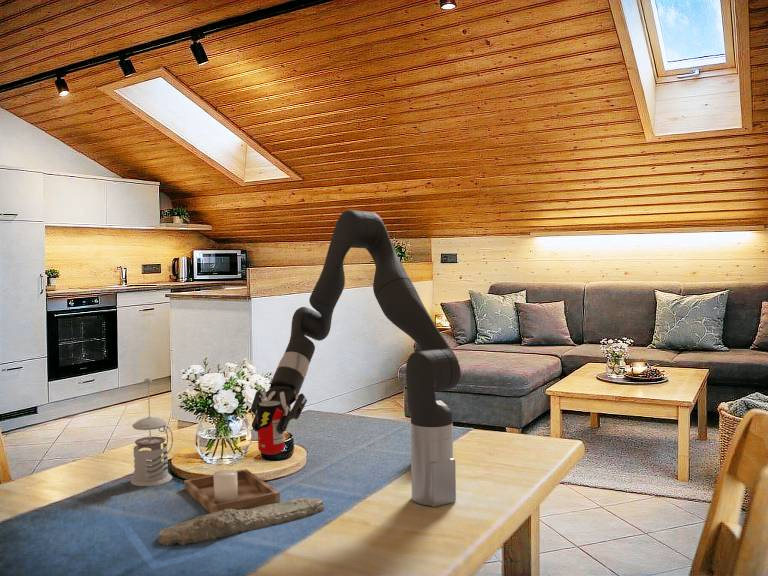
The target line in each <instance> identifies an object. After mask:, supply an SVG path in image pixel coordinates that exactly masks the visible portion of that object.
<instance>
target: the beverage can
mask: <svg viewBox="0 0 768 576" xmlns="http://www.w3.org/2000/svg"><path fill="white" fill-rule="evenodd" d="M282 416H284V415H283V408H282V407H281V405H280V402H279V401H265V402H261V403H259V408H258V410H257V427H258V432H257V450H259V452H261V453H262V454H263V455H267V456H268V455H270V456H271V455H277V454H280V453H282V451H283V450H284V449H285V445H286V444H285V431H284V432H283V434H279V432H278V431H277V426H278V424H279V421H280V419H281V417H282Z"/></svg>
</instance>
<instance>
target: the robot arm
mask: <svg viewBox="0 0 768 576" xmlns="http://www.w3.org/2000/svg"><path fill="white" fill-rule="evenodd" d="M388 232H389V231H388V230H387V227H386V225H385V223H384V220H383V219H382V218H381V216H380V215H379V214H378V213H375V212H372V211H365V210H355V209H348V210H345V211H343V212H342V213H341V214H340V215H339V217H338V219H337V221H336V223H335V226H334V229H333V233H332V235H331V238H330V243H329V245H328V248H327V254H326V257H325V259H324V264H323V267H322V270H321V273H320V275H319V277H318V278H317V279H318V280H317V282H316V284H315V285H314V288H313V290H312V292H311V294H310V295H309V301H308V302H309V305H310V306H311V307H312V308H313V309H314V310H313V309H311V308H309V307H307V306H301V307H298V308H297V309H296V310H295V311H294V313H293V315H292V317H291V326H290V337H289V341H288V345H287V346H286V348H285V351H284V353H283V356H282V357H281V359H280V361H279V363H278V365H277V367H276V370H275V372H274V374H273V377H272V379H271V382H270V386H269V389H268V390H267V391H266V392H261V391H260V390H257V391H256V392H255V394H254V398H253V400H252V404H251V407H250V412H251V413H252V415H254V419H253V421H252V423H251V427H252V429H253V431H254V432H257V433H258V427H257V410H258V408H259V403H261V402H265V401H279V402H280V405H281V407H282V408H283V416H282V417H281V419H280V421H279V424H278V426H277V431H278V432H279V434H283V432H284V433H285V432H286V431H287V427H288V425H289V422H290V421H291V420H293V419H294V420H298V419H299V418H300V416H301V414H302V412H303V411H304V408H305V406H306V404H307V403H308V399H307V398H306V396H305V394H304V393H300V391H301V388H302V386H303V383H304V381H305V379H306V376H307V373H308V370H309V367H310V364H311V361H312V358H313V356H314V353H315V350H316V346H315V344H314V342H313V341H312V340H314V341H318V342H320V341H323V340H325V339H326V338H327V337H328V335H329V333H330V331H331V327H332V319H333V313H334V310H335V307H336V306H337V304H338V301H339V299H340V298H341V296H342V293H343V291H344V288H345V285H346V283H345V282H346V277H345V270H344V261H345V258H346V255H347V254H348V252H349V251H350V249H352V248H353V249H354V248H355V249H364V250H366V251H367V252H368V253H369V255H370V256H371V259H372V260H373V261H372V262H374V266H375V270H374V271H375V272H374V275H373V276H374V278H373V282H372V290H373V294H374V297H375V299H376V301H377V303H378V305H379V307H380V309H381V311H382V312H383V314H384V316H385V317H386V318H387V319H388V321H390V322H391V323H392V324H393V325H395V327H397V328H398V330H399V329H400V330H401V331H402V332H404V333H405V334H406V335H408V337H410V339H412V340H413V341H414V342H415V343H416V345H417V346H418V347H419V349H420V350H418V351H414V352H412V353H411V354H409V356H408V358H407V361H406V363H405V364H406V365H405V382H406V383H405V384H406V397H407V398H406V401H407V409H408V412H409V415H410V453H411V454H410V460H411V461H410V462H411V463H410V464H411V466H410V467H411V469H410V472H411V499H412V501H413V502H414V503H416V504H419V505H424V506H430V507H433V508H434V507H439V506H443V505H448V504H451V503H456V502H457V498H456V497H457V487H456V486H457V484H456V481H457V480H456V478H457V476H456V471H457V470H456V469H457V468H456V459H455V458H454V446H453V445H454V437H453V435H454V431H453V430H454V425H453V422H454V421H453V411H452V409H451V408H450V407H448V406H447V407H445V406H442V405H438V404H437V403H436V401H437V400H436V392H439V391H445V390H446V391H447V390H450V389H454V388H455V387H457V386H458V384H459V383H460V381H461V375H462V372H461V370H462V369H461V366H460V362H459V360H458V358H457V356H456V354H455V352H454V350H453V349H452V347H451V346H450V345H449V343H448V342H447V340H446V339H445V337H444V336H443V334H442V333H441V331H440V330H439V329H438V327H437V326H436V324H435V322H434V321H433V319H432V317H431V315H430V314H429V312H428V310H427V309H426V307H425V305H424V304H423V302H422V299H421V298H420V296H419V295H420V294H419V293H418V291H417V290H416V287H415V286H414V284H413V282H412V280H411V278H410V277H409V275H408V274H407V272H406V270H405V268H404V266H403V264H402V262H401V259H400V258H399V257H398V256H399V255H398V253H397V251H396V250H395V247H394V244H393V243H392V239H391V237H390V234H389V233H388ZM310 338H311V339H312V340H311V339H310ZM293 403H294V404H293ZM291 405H293V406H291Z"/></svg>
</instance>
